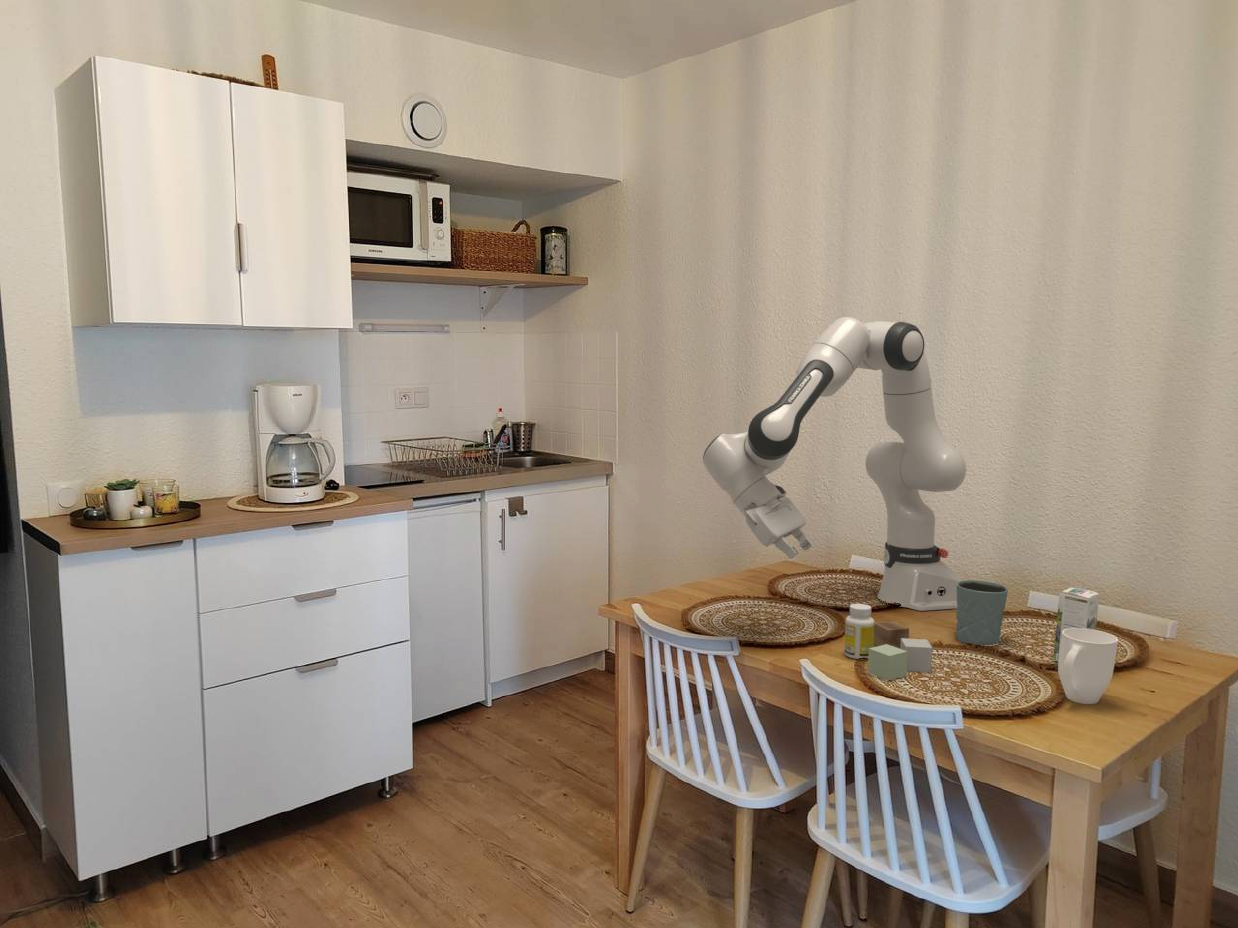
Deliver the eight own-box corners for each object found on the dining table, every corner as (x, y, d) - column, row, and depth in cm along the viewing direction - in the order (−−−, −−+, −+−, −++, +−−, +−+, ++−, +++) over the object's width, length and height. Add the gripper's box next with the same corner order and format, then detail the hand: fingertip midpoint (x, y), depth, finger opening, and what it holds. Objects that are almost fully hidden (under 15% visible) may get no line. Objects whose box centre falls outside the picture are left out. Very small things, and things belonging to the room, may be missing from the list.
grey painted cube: (925, 663, 179) (926, 639, 179) (931, 672, 174) (932, 647, 174) (899, 662, 180) (900, 638, 179) (904, 671, 175) (905, 646, 174)
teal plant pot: (943, 635, 197) (946, 581, 196) (981, 631, 200) (985, 578, 199) (975, 650, 188) (978, 593, 186) (1015, 645, 191) (1018, 590, 189)
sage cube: (885, 668, 176) (886, 644, 176) (906, 676, 172) (907, 651, 171) (867, 673, 173) (868, 648, 173) (888, 681, 169) (889, 655, 169)
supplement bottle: (875, 653, 185) (877, 604, 184) (870, 661, 180) (872, 611, 179) (847, 649, 187) (849, 601, 186) (841, 657, 182) (843, 608, 181)
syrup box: (1063, 655, 185) (1068, 586, 183) (1094, 662, 181) (1099, 591, 179) (1052, 661, 181) (1057, 591, 179) (1084, 669, 177) (1089, 597, 175)
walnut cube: (893, 644, 191) (894, 621, 190) (908, 651, 186) (909, 628, 186) (873, 646, 190) (874, 623, 189) (887, 654, 185) (888, 630, 184)
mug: (1068, 685, 168) (1075, 623, 166) (1118, 701, 161) (1126, 636, 159) (1038, 700, 160) (1045, 635, 158) (1090, 717, 154) (1098, 650, 152)
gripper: (751, 497, 180) (797, 552, 177) (785, 486, 198) (826, 535, 194) (730, 517, 183) (774, 571, 179) (764, 504, 201) (805, 553, 197)
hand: (801, 552), depth 187 cm, fingers open, 8 cm apart
